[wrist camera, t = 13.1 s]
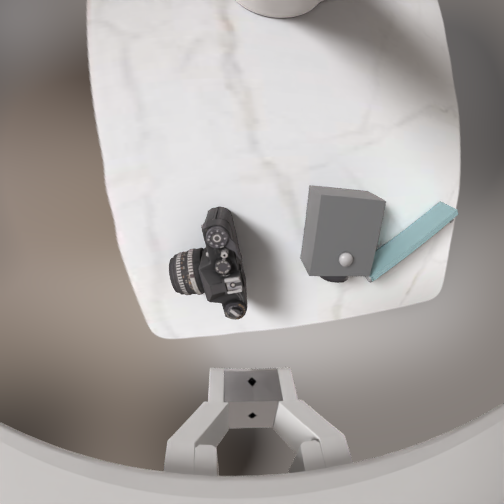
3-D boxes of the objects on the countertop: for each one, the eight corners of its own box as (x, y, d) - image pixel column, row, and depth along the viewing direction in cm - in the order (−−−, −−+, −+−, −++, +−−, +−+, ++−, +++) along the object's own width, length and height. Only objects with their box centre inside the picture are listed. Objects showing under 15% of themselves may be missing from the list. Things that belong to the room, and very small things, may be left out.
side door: (440, 201, 43) (456, 209, 39) (442, 209, 44) (459, 217, 40) (356, 265, 47) (367, 279, 43) (360, 272, 48) (371, 286, 44)
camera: (163, 218, 42) (146, 244, 33) (232, 202, 42) (232, 224, 33) (189, 296, 48) (181, 333, 39) (251, 284, 48) (256, 320, 39)
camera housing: (309, 185, 42) (322, 196, 35) (368, 191, 43) (388, 202, 36) (299, 265, 47) (309, 287, 41) (354, 266, 48) (369, 286, 42)
